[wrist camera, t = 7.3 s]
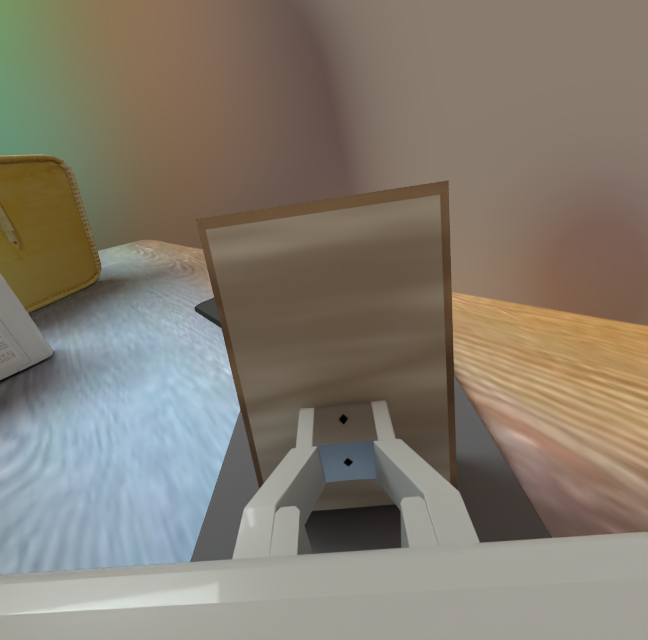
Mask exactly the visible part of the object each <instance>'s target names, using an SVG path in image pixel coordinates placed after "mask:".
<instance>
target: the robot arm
mask: <svg viewBox="0 0 648 640" xmlns="http://www.w3.org/2000/svg"><path fill="white" fill-rule="evenodd" d="M376 478H377V481H378V482H379V483H380V485H381V486H382V487H383V489H384V490H385V491H386V493H387V494H388V495H389V496H390V498H391V499H392V500H393V502H394V503H395V504H396V506H397V507H398V508H399V510H400V511H401V548H393V549H377V550H362V551H348V552H333V553H318V554H313V551H312V548H311V545H310V542H309V538H308V535H307V532H306V529H305V526H304V525H305V523H306V522H307V520H308V518H309V516H310V514H311V512H312V510H313V508H314V506H315V504H316V502H317V500H318V499H319V497H320V495H321V493H322V491H323V489H324V487H325V485H326V483H327V482H336V481H345V480H358V479H376ZM0 640H648V532H633V533H618V534H603V535H588V536H573V537H558V538H543V539H529V540H514V541H499V542H484V543H480V542H479V539H478V537H477V534H476V532H475V529H474V527H473V524H472V522H471V519H470V517H469V514H468V512H467V509H466V507H465V504H464V502H463V499H462V497H461V495H460V492H459V491H458V490H457V489H455V488H454V487H453V486H452V485H451V484H450V483H449V482H448V481H447V480H446V479H444V478H443V477H442V476H441V475H440V474H439V473H438V472H437V471H436V470H434V469H433V468H432V467H431V466H430V465H429V464H428V463H427V462H426V461H425V460H423V459H422V458H421V457H420V456H419V455H418V454H417V453H416V452H415V451H413V450H412V449H411V448H410V447H409V446H408V445H407V444H406V443H405V442H404V441H402V440H401V439H396V437H395V433H394V429H393V426H392V422H391V418H390V414H389V410H388V406H387V402H386V401H385V400H381V401H372V402H363V403H354V404H345V405H337V406H323V407H314V408H301V409H300V412H299V420H298V430H297V440H296V448H293V449H291V450H290V451H289V452H288V454H287V455H286V456H285V457H284V459H283V460H282V461H281V463H280V464H279V465H278V466H277V468H276V469H275V470H274V471H273V473H272V474H271V475H270V476H269V478H268V479H267V480H266V481H265V483H264V484H263V485H262V486H261V488H260V489H259V490H258V492H257V493H256V494H255V495H254V497H253V498H252V499H251V500H250V502H249V503H248V504H247V505H246V507H245V508H244V511H243V515H242V519H241V524H240V528H239V532H238V537H237V541H236V545H235V549H234V554H233V558H232V559H228V560H214V561H199V562H184V563H169V564H154V565H139V566H124V567H109V568H94V569H79V570H64V571H49V572H33V573H18V574H3V575H0Z"/></svg>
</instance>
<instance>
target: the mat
mask: <svg viewBox="0 0 648 640" xmlns="http://www.w3.org/2000/svg"><path fill="white" fill-rule="evenodd" d="M454 394H455V429H456V463H457V490H458V491H459V492H460V495H461V497H462V499H463V502H464V504H465V507H466V509H467V512H468V514H469V517H470V519H471V522H472V524H473V527H474V529H475V532H476V534H477V537H478V539H479V542H480V543H484V542H499V541H514V540H529V539H543V538H552V537H551V535H550V534H549V532H548V530H547V529H546V527H545V525H544V524H543V522H542V520H541V519H540V517H539V515H538V514H537V512H536V510H535V509H534V507H533V505H532V504H531V502H530V500H529V499H528V497H527V495H526V494H525V492H524V490H523V489H522V487H521V485H520V484H519V482H518V480H517V479H516V477H515V475H514V474H513V472H512V470H511V469H510V467H509V465H508V464H507V462H506V460H505V459H504V457H503V455H502V454H501V452H500V450H499V449H498V447H497V445H496V444H495V442H494V440H493V439H492V437H491V435H490V434H489V432H488V430H487V429H486V427H485V425H484V424H483V422H482V420H481V419H480V417H479V415H478V414H477V412H476V410H475V409H474V407H473V405H472V404H471V402H470V400H469V399H468V397H467V395H466V394H465V392H464V390H463V389H462V387H461V385H460V384H459V382H458V380H457V379H456V377H455V375H454ZM258 490H259V486H258V481H257V477H256V473H255V468H254V464H253V460H252V456H251V451H250V447H249V443H248V439H247V434H246V430H245V426H244V422H243V417H242V413H241V410H240V413H239V416H238V419H237V422H236V425H235V428H234V431H233V434H232V437H231V440H230V443H229V446H228V449H227V452H226V455H225V458H224V461H223V464H222V467H221V470H220V473H219V476H218V479H217V482H216V486H215V489H214V492H213V495H212V498H211V501H210V504H209V507H208V510H207V513H206V516H205V519H204V522H203V525H202V528H201V531H200V534H199V537H198V540H197V543H196V546H195V549H194V552H193V555H192V558H191V561H190V562H199V561H214V560H228V559H232V558H233V554H234V549H235V545H236V541H237V537H238V532H239V528H240V524H241V519H242V515H243V511H244V508H245V507H246V505H247V504H248V503H249V502H250V500H251V499H252V498H253V497H254V495H255V494H256V493H257V492H258ZM304 526H305V529H306V532H307V535H308V538H309V542H310V545H311V548H312V551H313V554H318V553H333V552H348V551H362V550H377V549H393V548H401V511H400V510H399V508H398V507H397V506H396V504H393V505H381V506H369V507H356V508H344V509H331V510H319V511H312V512H311V514H310V516H309V518H308V520H307V522H306V523H305V525H304Z"/></svg>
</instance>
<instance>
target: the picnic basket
mask: <svg viewBox="0 0 648 640" xmlns="http://www.w3.org/2000/svg"><path fill="white" fill-rule="evenodd" d="M100 272H101V262H100V258H99V255H98V252H97V248H96V245H95V242H94V239H93V235H92V232H91V228H90V225H89V222H88V219H87V215H86V212H85V208H84V205H83V202H82V199H81V195H80V192H79V189H78V185H77V182H76V179H75V175H74V173H73V171H72V169H71V168H70V167H69V166H68V165H67V164H66V163H65V162H64V161H63V160H60V159H58V158H56V157H53V156H49V155H42V154H41V155H9V156H0V274H1V275H2V276H3V278H4V279H5V281H6V282H7V284H8V285H9V286H10V288H11V289H12V291H13V292H14V294H15V295H16V297H17V298H18V300H19V301H20V302H21V304H22V305H23V307H24V309H25V310H26V311H27V313H31V312H33V311H35V310H37V309H40V308H42V307H44V306H46V305H49V304H51V303H53V302H55V301H58V300H60V299H62V298H64V297H67V296H69V295H71V294H73V293H75V292H78V291H80V290H82V289H84V288H87V287H88V286H90V285H91V284H93V283H94V282H95V281H96V280H97V279H98V277H99V276H100Z"/></svg>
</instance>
